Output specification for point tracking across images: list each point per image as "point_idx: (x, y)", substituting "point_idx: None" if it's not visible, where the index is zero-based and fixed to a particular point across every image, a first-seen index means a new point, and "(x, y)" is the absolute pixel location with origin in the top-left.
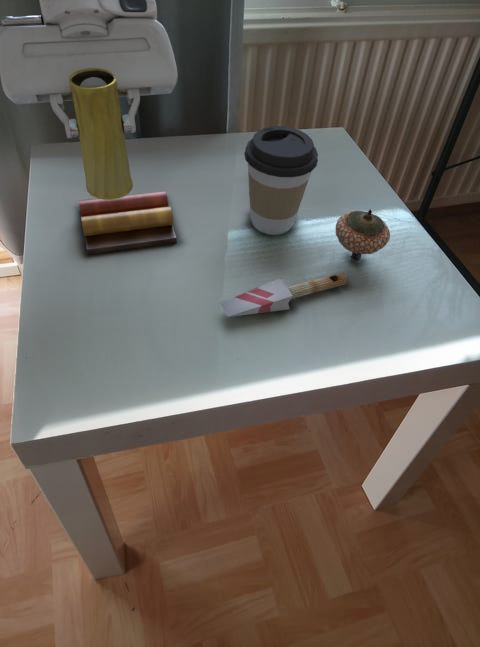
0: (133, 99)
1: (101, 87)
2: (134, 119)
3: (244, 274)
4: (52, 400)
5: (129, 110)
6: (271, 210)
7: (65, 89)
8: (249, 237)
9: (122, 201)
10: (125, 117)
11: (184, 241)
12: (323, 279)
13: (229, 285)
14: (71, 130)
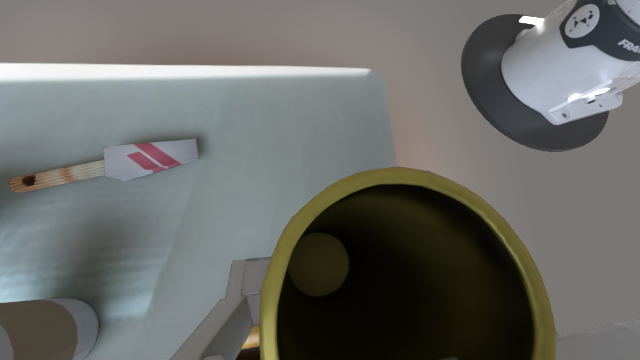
0: (203, 353)
1: (354, 179)
2: (228, 280)
3: (154, 217)
4: (363, 93)
5: (237, 305)
6: (39, 305)
7: None
8: (117, 296)
9: None
10: (258, 283)
11: (218, 293)
12: (46, 176)
13: (179, 200)
14: None
